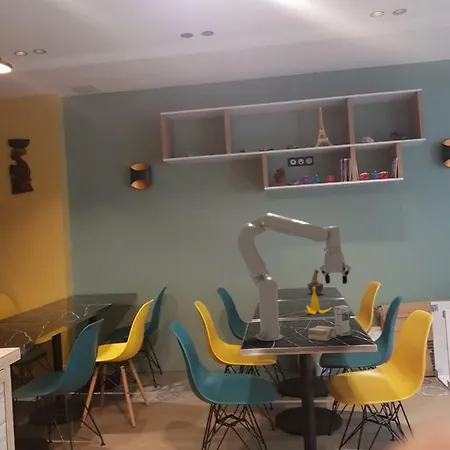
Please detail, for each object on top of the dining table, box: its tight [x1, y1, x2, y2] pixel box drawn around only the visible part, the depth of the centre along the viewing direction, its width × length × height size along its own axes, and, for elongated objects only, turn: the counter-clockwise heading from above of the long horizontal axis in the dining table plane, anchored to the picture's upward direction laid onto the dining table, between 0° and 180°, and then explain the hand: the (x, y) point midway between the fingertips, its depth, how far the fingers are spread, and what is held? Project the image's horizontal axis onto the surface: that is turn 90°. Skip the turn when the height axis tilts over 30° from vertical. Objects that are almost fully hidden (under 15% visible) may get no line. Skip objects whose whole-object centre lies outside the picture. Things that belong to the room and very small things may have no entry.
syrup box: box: [333, 305, 352, 337], centre depth 262 cm, size 6×6×14 cm
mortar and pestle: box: [307, 269, 324, 296], centre depth 412 cm, size 15×17×20 cm
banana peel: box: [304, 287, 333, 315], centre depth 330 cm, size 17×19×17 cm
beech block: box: [307, 325, 337, 342], centre depth 258 cm, size 10×10×5 cm
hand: (336, 283), depth 264 cm, fingers open, 9 cm apart
